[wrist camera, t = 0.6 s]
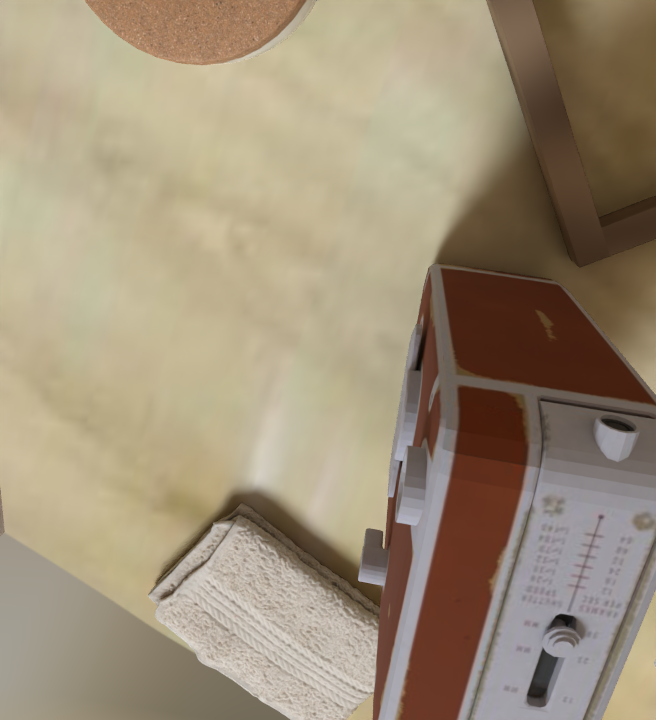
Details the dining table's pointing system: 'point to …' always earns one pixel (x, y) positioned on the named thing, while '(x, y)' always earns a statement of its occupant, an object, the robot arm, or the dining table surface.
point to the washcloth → (272, 619)
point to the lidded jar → (203, 26)
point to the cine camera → (512, 508)
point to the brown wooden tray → (562, 144)
